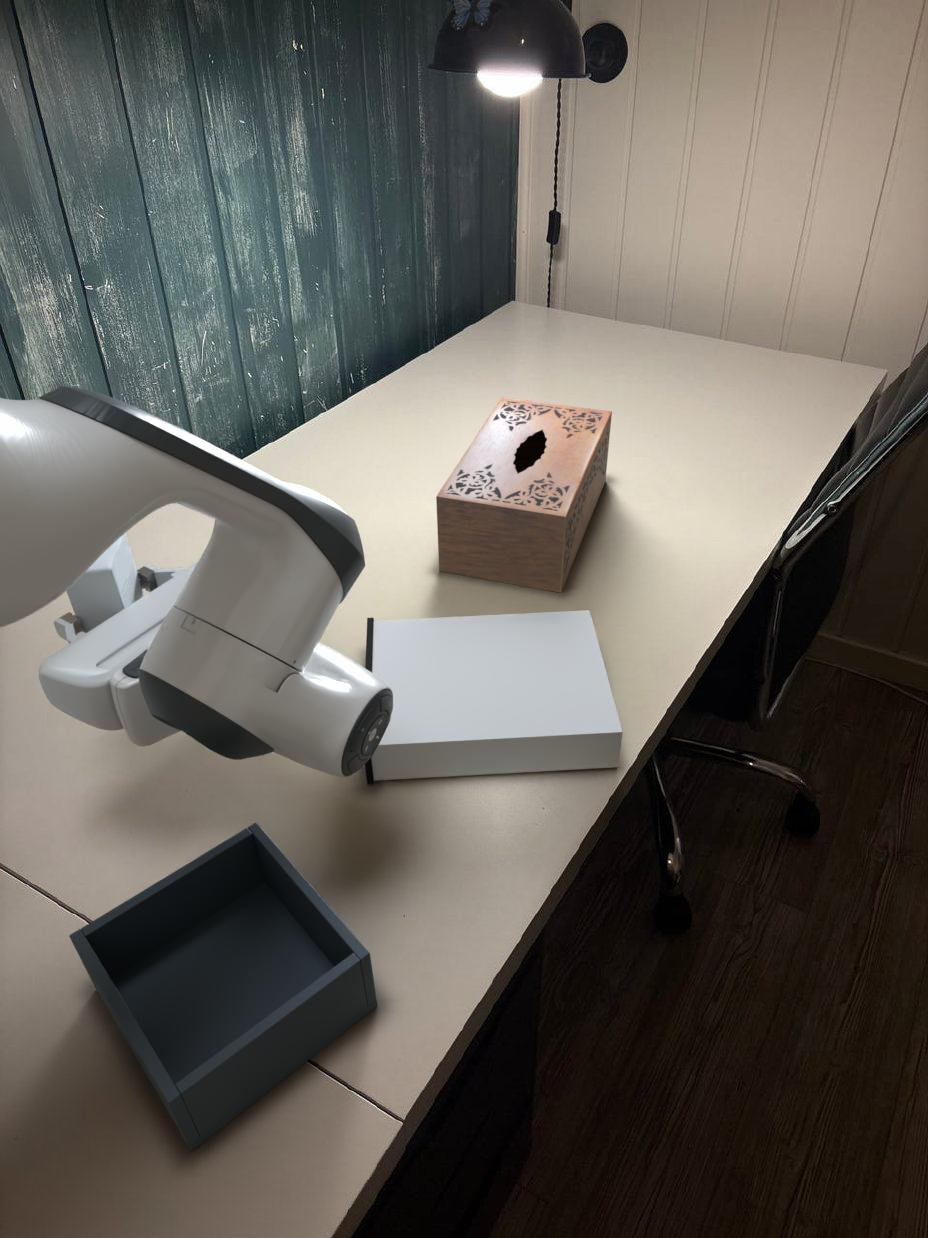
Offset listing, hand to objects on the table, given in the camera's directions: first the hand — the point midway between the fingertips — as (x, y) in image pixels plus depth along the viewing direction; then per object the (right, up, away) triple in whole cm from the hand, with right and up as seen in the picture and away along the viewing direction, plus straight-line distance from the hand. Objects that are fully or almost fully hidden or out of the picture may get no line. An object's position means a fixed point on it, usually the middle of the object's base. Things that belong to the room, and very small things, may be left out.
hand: (102, 598), depth 79 cm
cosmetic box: (+1, -6, +4) cm, 7 cm away
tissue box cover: (+39, +10, +35) cm, 53 cm away
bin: (+15, -29, -13) cm, 35 cm away
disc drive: (+33, -11, +9) cm, 36 cm away
